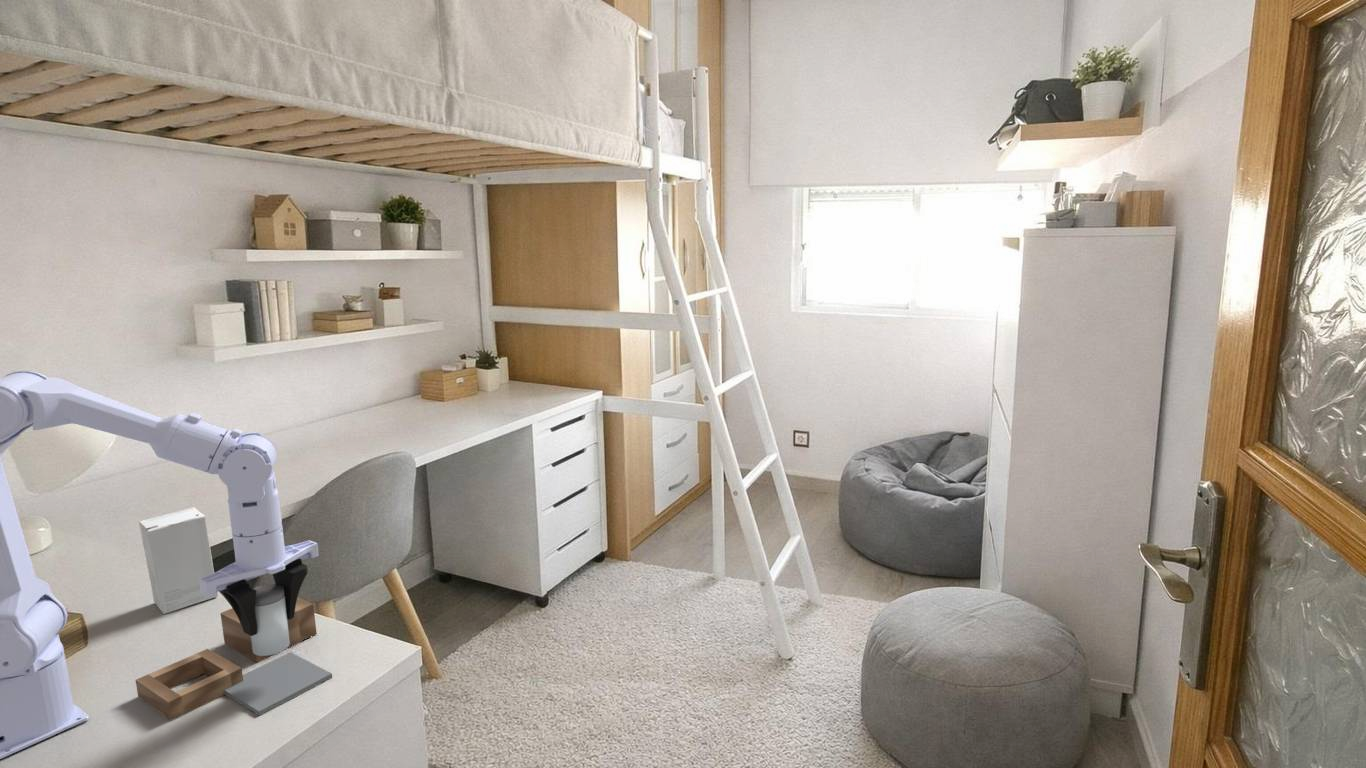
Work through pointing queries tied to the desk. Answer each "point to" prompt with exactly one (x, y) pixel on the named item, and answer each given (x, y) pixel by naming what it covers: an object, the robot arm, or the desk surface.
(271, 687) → the pad
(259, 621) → the cylinder
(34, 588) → the robot arm
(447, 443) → the desk surface
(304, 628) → the plunger housing
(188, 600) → the skincare box
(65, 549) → the desk surface
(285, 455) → the desk surface
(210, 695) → the sleeve
